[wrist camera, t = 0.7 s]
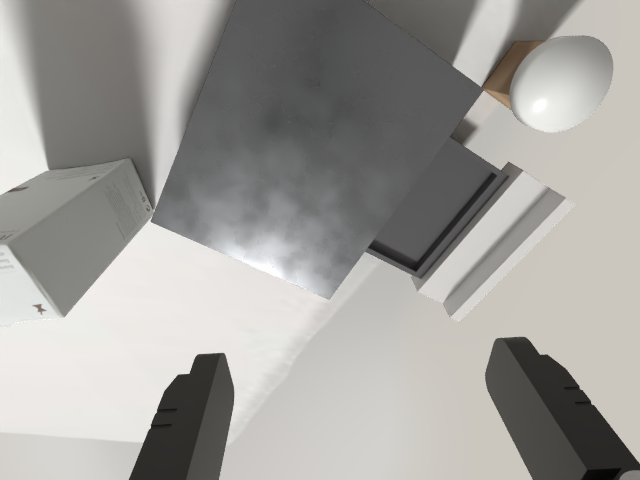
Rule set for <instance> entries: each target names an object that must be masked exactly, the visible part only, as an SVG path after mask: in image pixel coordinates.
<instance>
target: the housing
mask: <svg viewBox="0 0 640 480" xmlns="http://www.w3.org/2000/svg"><path fill="white" fill-rule="evenodd" d="M483 91H484V89H483V88H481V87H480V86H479V85H477V84H476V83H475V82H473V81H472V80H471V79H469V78H468V77H466V76H465V75H464V74H462V73H461V72H460V71H458V70H457V69H456V68H454V67H453V66H451V65H450V64H449V63H447V62H446V61H445V60H443V59H442V58H441V57H439V56H438V55H437V54H435V53H434V52H432V51H431V50H430V49H428V48H427V47H426V46H424V45H423V44H422V43H420V42H419V41H417V40H416V39H415V38H413V37H412V36H411V35H409V34H408V33H407V32H405V31H404V30H402V29H401V28H400V27H398V26H397V25H396V24H394V23H393V22H392V21H390V20H389V19H387V18H386V17H385V16H383V15H382V14H381V13H379V12H378V11H377V10H375V9H374V8H373V7H371V6H370V5H368V4H367V3H366V2H364V1H363V0H236V2H235V5H234V8H233V10H232V13H231V15H230V18H229V21H228V23H227V26H226V28H225V31H224V33H223V36H222V39H221V41H220V44H219V46H218V49H217V52H216V54H215V57H214V59H213V62H212V64H211V67H210V70H209V72H208V75H207V77H206V80H205V82H204V85H203V88H202V90H201V93H200V95H199V98H198V101H197V103H196V106H195V108H194V111H193V113H192V116H191V119H190V121H189V124H188V126H187V129H186V132H185V134H184V137H183V139H182V142H181V144H180V147H179V150H178V152H177V155H176V157H175V160H174V163H173V165H172V168H171V170H170V173H169V175H168V178H167V181H166V183H165V186H164V188H163V191H162V193H161V196H160V199H159V201H158V204H157V206H156V209H155V212H154V214H153V217H152V219H151V222H152V223H154V224H157V225H159V226H161V227H163V228H166V229H168V230H170V231H173V232H175V233H177V234H179V235H182V236H184V237H186V238H189V239H191V240H193V241H196V242H198V243H200V244H202V245H205V246H207V247H209V248H212V249H214V250H216V251H219V252H221V253H223V254H225V255H228V256H230V257H232V258H235V259H237V260H239V261H241V262H244V263H246V264H248V265H251V266H253V267H255V268H258V269H260V270H262V271H264V272H267V273H269V274H271V275H274V276H276V277H278V278H281V279H283V280H285V281H287V282H290V283H292V284H294V285H297V286H299V287H301V288H303V289H306V290H308V291H310V292H313V293H315V294H317V295H320V296H322V297H324V298H326V299H330V298H331V297H332V295H333V294H334V293H335V291H336V290H337V289H338V287H339V286H340V284H341V283H342V282H343V280H344V279H345V278H346V276H347V275H348V274H349V272H350V271H351V270H352V268H353V267H354V265H355V264H356V263H357V261H358V260H359V259H360V257H361V256H362V255H363V253H364V252H365V251H366V249H367V248H368V247H369V245H370V244H371V242H372V241H373V240H374V238H375V237H376V236H377V234H378V233H379V232H380V230H381V229H382V228H383V226H384V225H385V223H386V222H387V221H388V219H389V218H390V217H391V215H392V214H393V213H394V211H395V210H396V209H397V207H398V206H399V204H400V203H401V202H402V200H403V199H404V198H405V196H406V195H407V194H408V192H409V191H410V190H411V188H412V187H413V185H414V184H415V183H416V181H417V180H418V179H419V177H420V176H421V175H422V173H423V172H424V171H425V169H426V168H427V167H428V165H429V164H430V162H431V161H432V160H433V158H434V157H435V156H436V154H437V153H438V152H439V150H440V149H441V148H442V146H443V145H444V143H445V142H446V141H447V139H448V138H449V137H450V135H451V134H452V133H453V131H454V130H455V129H456V127H457V126H458V124H459V123H460V122H461V120H462V119H463V118H464V116H465V115H466V114H467V112H468V111H469V110H470V108H471V107H472V105H473V104H474V103H475V101H476V100H477V99H478V97H479V96H480V95H481V93H482V92H483Z"/></svg>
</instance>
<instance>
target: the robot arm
mask: <svg viewBox="0 0 640 480" xmlns="http://www.w3.org/2000/svg"><path fill="white" fill-rule="evenodd" d="M485 379H486V385H487V389H488V392H489V394H490V396H491V398H492V400H493V402H494V404H495V406H496V408H497V410H498V412H499V414H500V416H501V418H502V420H503V422H504V424H505V426H506V427H507V430H508V432H509V434H510V436H511V437H512V439H513V441H514V443H515V445H516V447H517V449H518V451H519V453H520V455H521V457H522V459H523V461H524V463H525V465H526V467H527V469H528V471H529V473H530V475H531V477H532V479H533V480H640V464H639V462H638V461H637V460H636V459H635V457H634V456H633V455H632V454H631V452H630V451H629V450H628V448H627V447H626V446H625V444H624V443H623V442H622V441H621V439H620V438H619V437H618V435H617V434H616V433H615V432H614V430H613V429H612V428H611V427H610V425H609V424H608V423H607V421H606V420H605V419H604V418H603V416H602V415H601V413H600V412H599V411H598V410H597V408H596V407H595V406H594V405H592V404H591V401H590V399H589V398H588V397H587V395H586V394H585V393H584V392H583V390H580V388H579V385H578V384H577V383H576V382H575V380H574V379H573V377H572V376H571V375H570V374H569V372H568V371H567V370H566V369H565V368H564V367H563V366H561V365H560V364H559V363H558V362H556V361H555V360H553V359H552V358H551V357H550V356H548V355H540V354H539V353H538V352H537V350H536V349H535V347H534V346H533V345H532V343H531V342H530V341H529V340H528V339H527V338H525V337H512V338H511V337H510V338H497V339H496V340H495V342H494V345H493V348H492V352H491V355H490V358H489V362H488V365H487V369H486V373H485ZM233 405H234V386H233V382H232V378H231V375H230V371H229V367H228V363H227V359H226V356H225V354H224V353H213V354H198V355H197V356H196V357H195V360H194V362H193V365H192V368H191V371H190V374H181V375H178V376H177V377H176V378H175V379H174V380H173V382H172V383H171V384H170V385H169V386H168V387H167V389H166V390H165V391H164V394H163V396H162V399H161V401H160V404H159V406H158V409H157V413H156V414H155V416H154V419H153V421H152V424H151V429H149V431H148V434H147V436H146V438H145V441H144V443H143V446H142V448H141V451H140V453H139V456H138V458H137V461H136V464H135V466H134V468H133V471H132V473H131V476H130V478H129V480H219V476H220V471H221V466H222V460H223V456H224V451H225V446H226V441H227V436H228V431H229V426H230V421H231V416H232V411H233Z"/></svg>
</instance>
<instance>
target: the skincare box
mask: <svg viewBox="0 0 640 480" xmlns="http://www.w3.org/2000/svg"><path fill="white" fill-rule="evenodd" d="M153 214H154V212H153V209H152V207H151V204H150V202H149V200H148V198H147V195H146V193H145V190H144V188H143V186H142V183H141V180H140V178H139V175H138V173H137V171H136V168H135V166H134V163H133V161H132V160H131V159H130V158H127V159H121V160H118V161H114V162H109V163H103V164H98V165H91V166H84V167H76V168H68V169H55V170H49V171H46V172H44V173H42V174H40V175H38V176H36V177H34V178H32V179H30V180H28V181H27V182H25V183H23V184H21V185H19V186H17V187H15V188H13V189H11V190H10V191H8V192H6V193H4V194H2V195H0V328H5V327H10V326H12V325H14V324H16V323H21V322H29V321H38V320H48V319H61V318H64V317H65V316H66V315H67V314H68V312H69V311H70V310H71V309H72V308H73V306H74V305H75V304H76V303H77V302H78V301H79V299H80V298H81V297H82V296H83V295H84V294H85V293H86V291H87V290H88V289H89V288H90V287H91V286H92V284H93V283H94V282H95V281H96V280H97V279H98V278H99V276H100V275H101V274H102V273H103V272H104V271H105V270H106V268H107V267H108V266H109V265H110V264H111V263H112V261H113V260H114V259H115V258H116V257H117V256H118V255H119V253H120V252H121V251H122V250H123V249H124V248H125V247H126V245H127V244H128V243H129V242H130V241H131V240H132V239H133V237H134V236H135V235H136V234H137V233H138V232H139V231H140V229H141V228H142V227H143V226H144V225H145V224H146V223H147V221H148V220H149V219H150V218H151V217H152V216H153Z"/></svg>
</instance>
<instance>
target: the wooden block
mask: <svg viewBox="0 0 640 480" xmlns="http://www.w3.org/2000/svg"><path fill="white" fill-rule="evenodd" d="M544 42H546V41H515V43H514V44H513V45H512V47H511V48H510V50H509V51H508V52H507V54H506V55H505V56H504V58H503V59H502V61H501V62H500V63H499V65H498V66H497V67H496V69H495V70H494V71H493V73H492V74H491V76H490V77H489V78H488V80H487V81H486V82H485V84H484V85H483V86H482V88H483V89H484V91H486V92H487V93H489V94H490V95H491V96H493V97H494V98H495V99H497V100H498V101H499V102H501V103H502V104H504V105H505V106H506V107H508V108H509V109H510V110H512V109H511V106H510V100H509V94H510V86H511V83H512V79H513V77H514V74H515V72H516V70H517V69H518V67H519V65H520V64H521V62H522V61H523V60H524V59H525V57H526V56H527V55H528V54H529V53H530V52H531V51H532V50H534V49H535V48H536V47H537V46H539V45H540V44H542V43H544Z"/></svg>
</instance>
